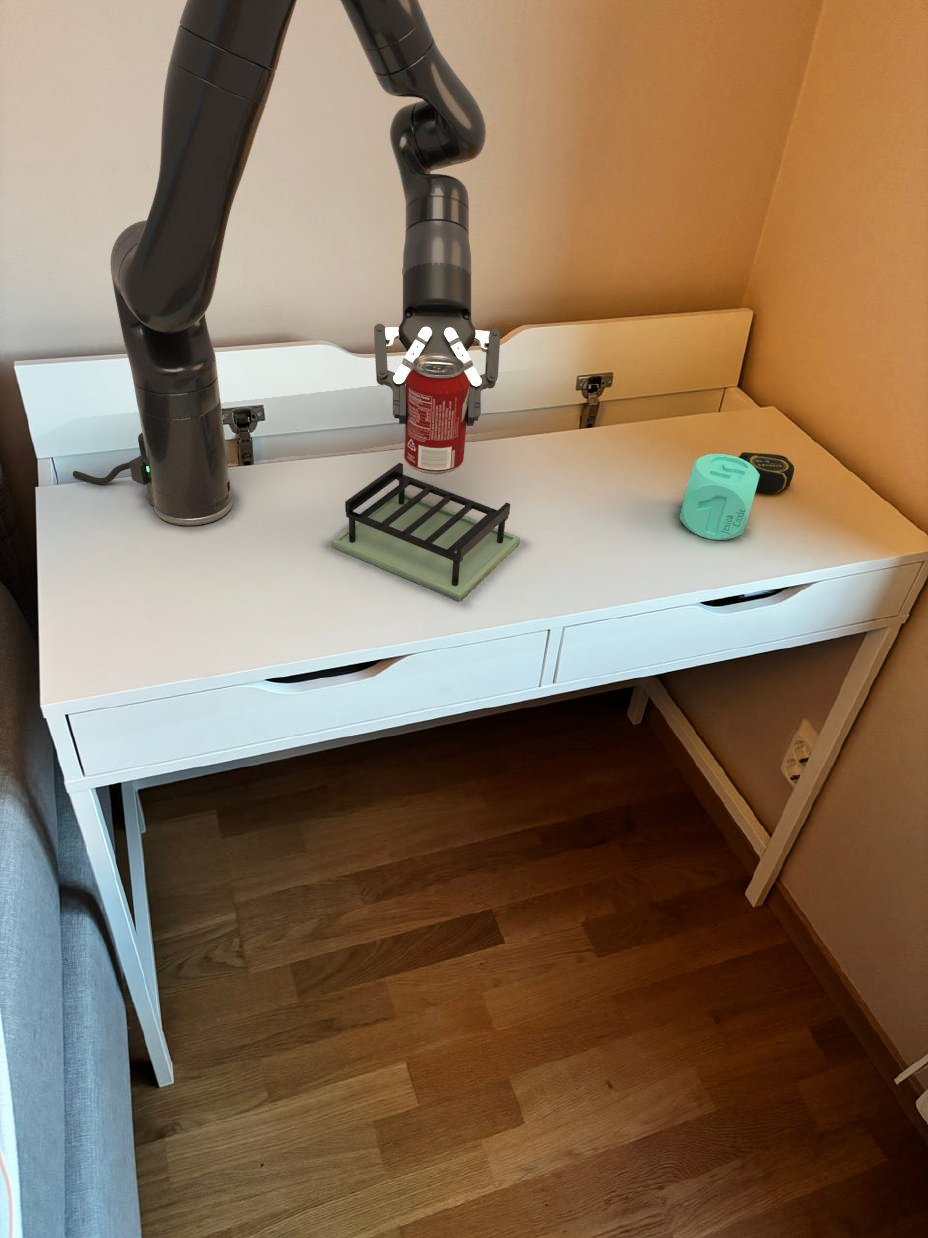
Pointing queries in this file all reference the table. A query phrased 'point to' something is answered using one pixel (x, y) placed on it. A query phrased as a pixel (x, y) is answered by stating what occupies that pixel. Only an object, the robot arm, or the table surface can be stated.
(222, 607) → the table surface
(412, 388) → the soda can
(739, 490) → the decorative dice
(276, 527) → the table surface
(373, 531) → the drip tray
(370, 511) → the drying rack
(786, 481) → the tape measure
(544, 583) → the table surface
